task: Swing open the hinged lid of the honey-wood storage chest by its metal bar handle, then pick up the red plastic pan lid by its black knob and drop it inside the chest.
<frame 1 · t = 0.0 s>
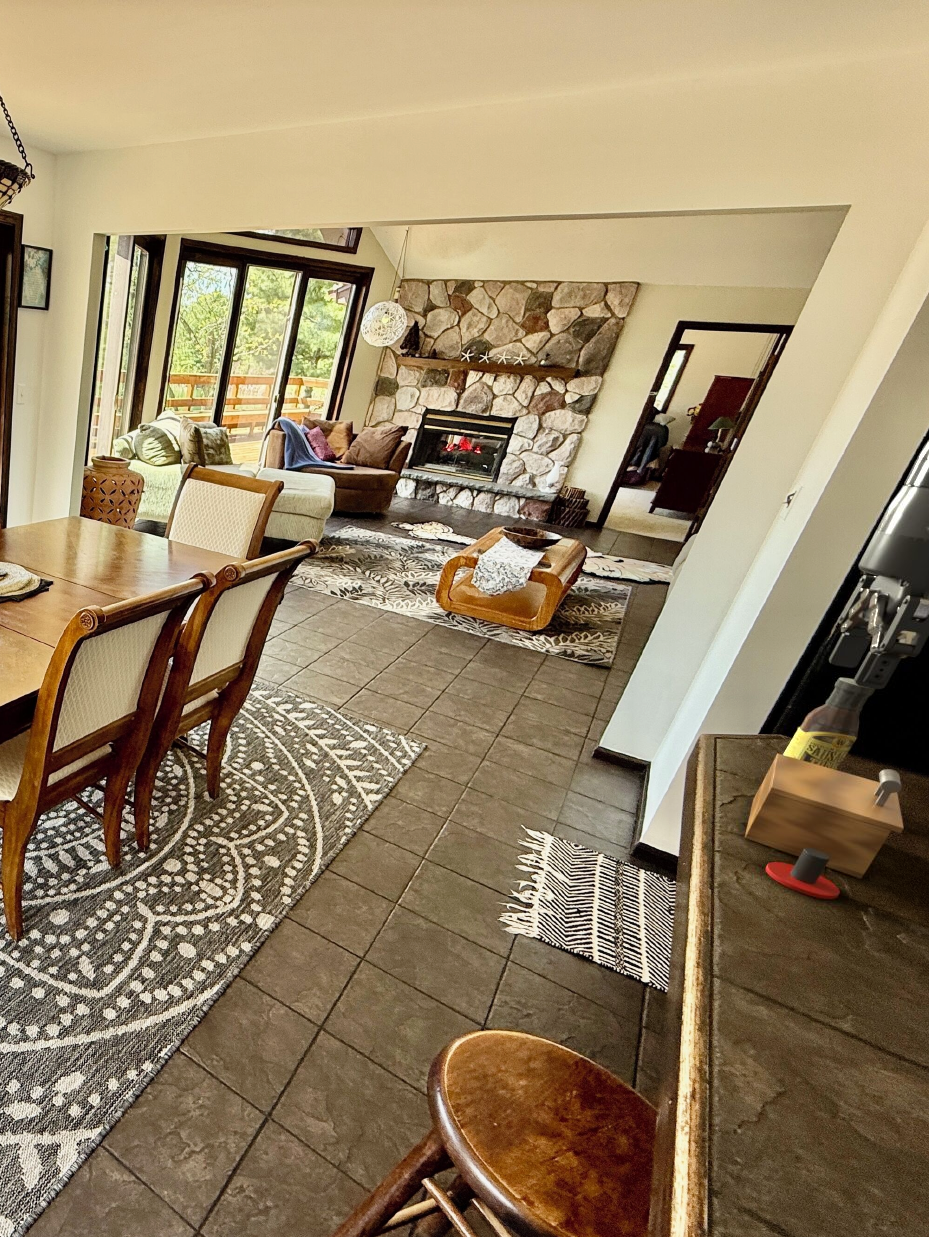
hand: (853, 675, 79), 30 cm above the countertop, tool pointing down, fingers open, 8 cm apart
chest lid: (840, 777, 98), point 10 cm above the countertop, hinge at 0.0°
pan lid: (800, 881, 92), on the countertop
sauce bottle: (793, 791, 116), on the countertop
chest: (802, 836, 102), on the countertop
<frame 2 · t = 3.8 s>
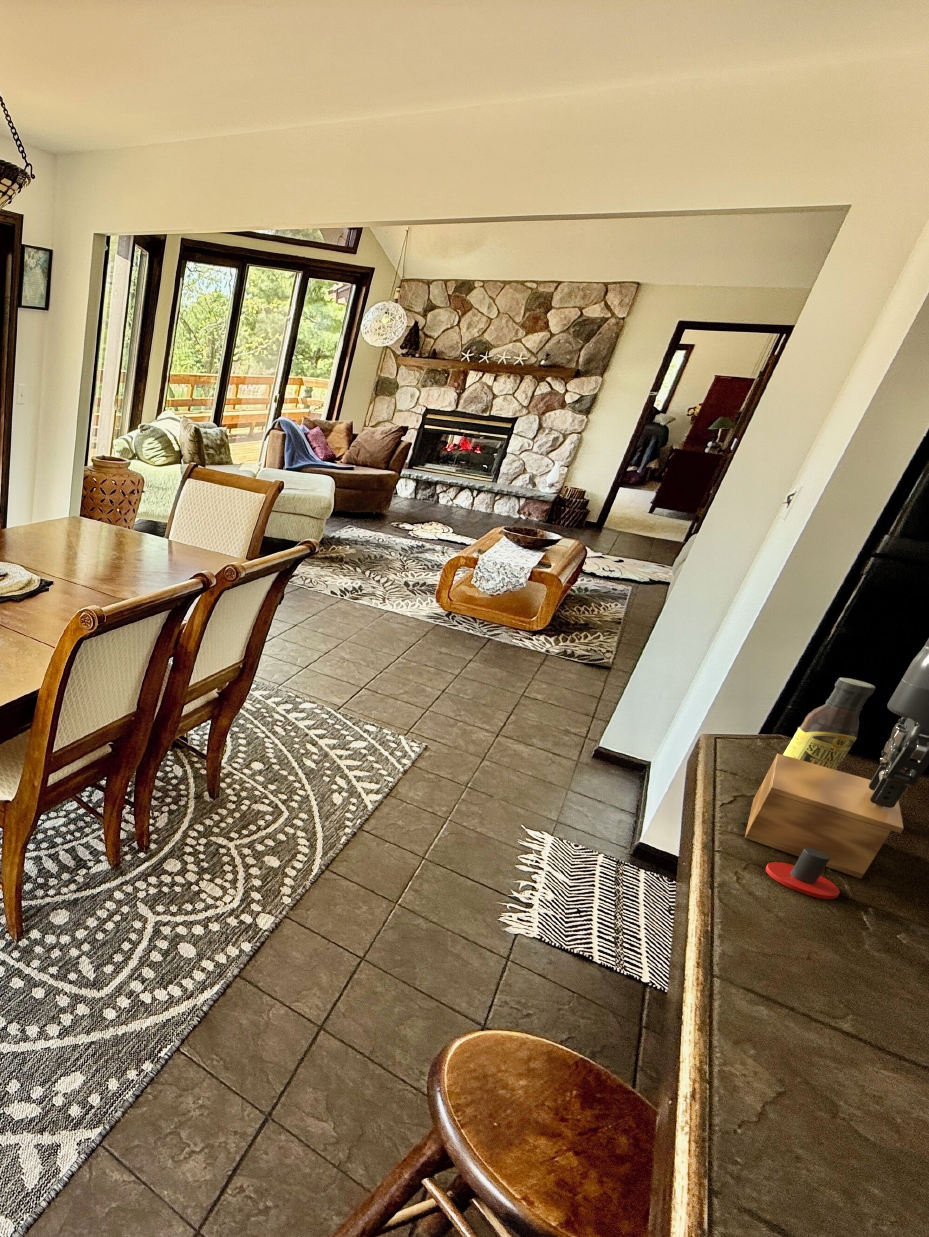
hand: (879, 797, 96), 9 cm above the countertop, tool pointing down, fingers closed on chest lid, 5 cm apart
chest lid: (840, 777, 98), point 10 cm above the countertop, hinge at 0.0°, touching gripper
everything else where it was.
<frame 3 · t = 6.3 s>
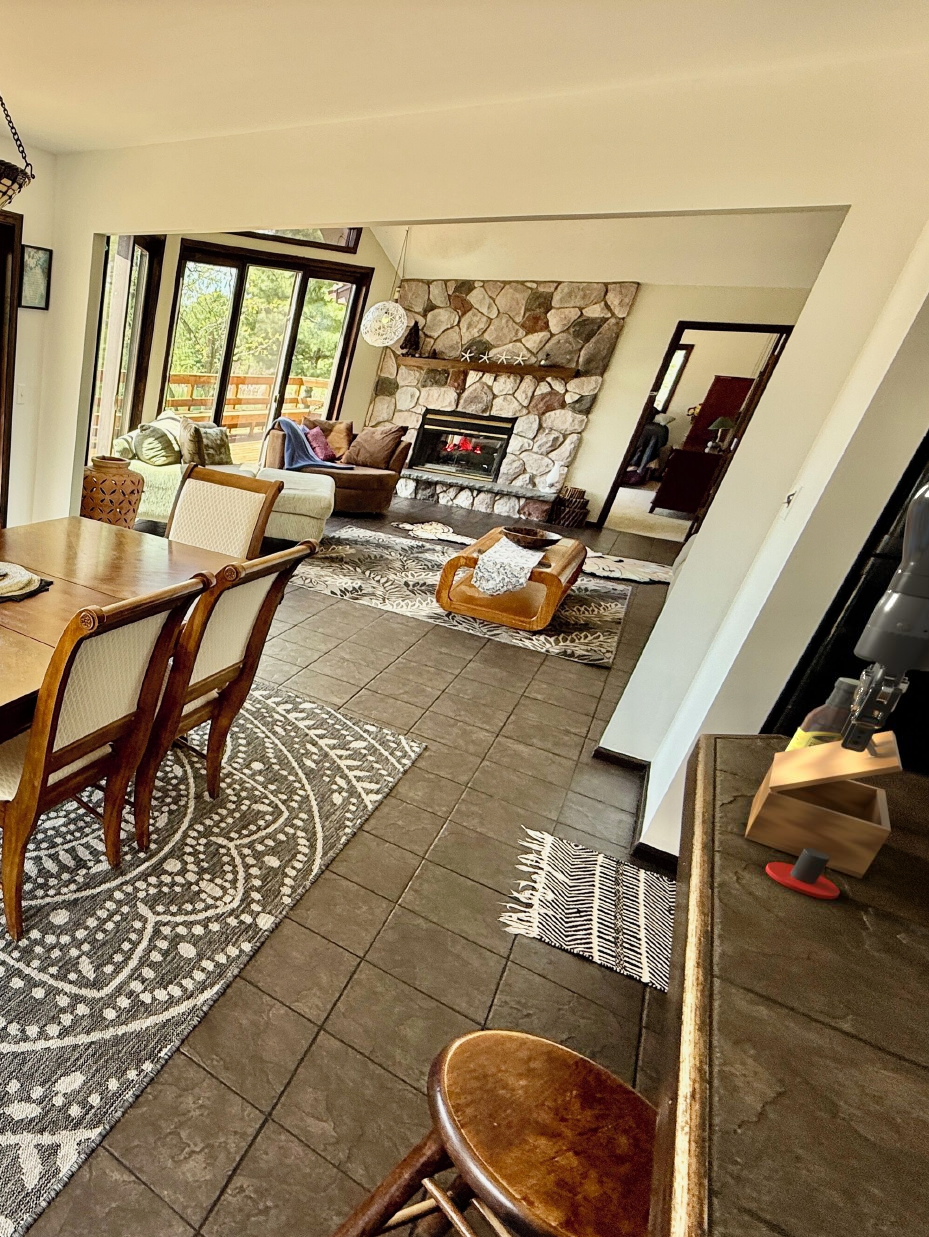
hand: (851, 743, 97), 15 cm above the countertop, tool pointing down, fingers closed on chest lid, 5 cm apart
chest lid: (824, 748, 99), point 14 cm above the countertop, hinge at 40.2°, touching gripper
everything else where it was.
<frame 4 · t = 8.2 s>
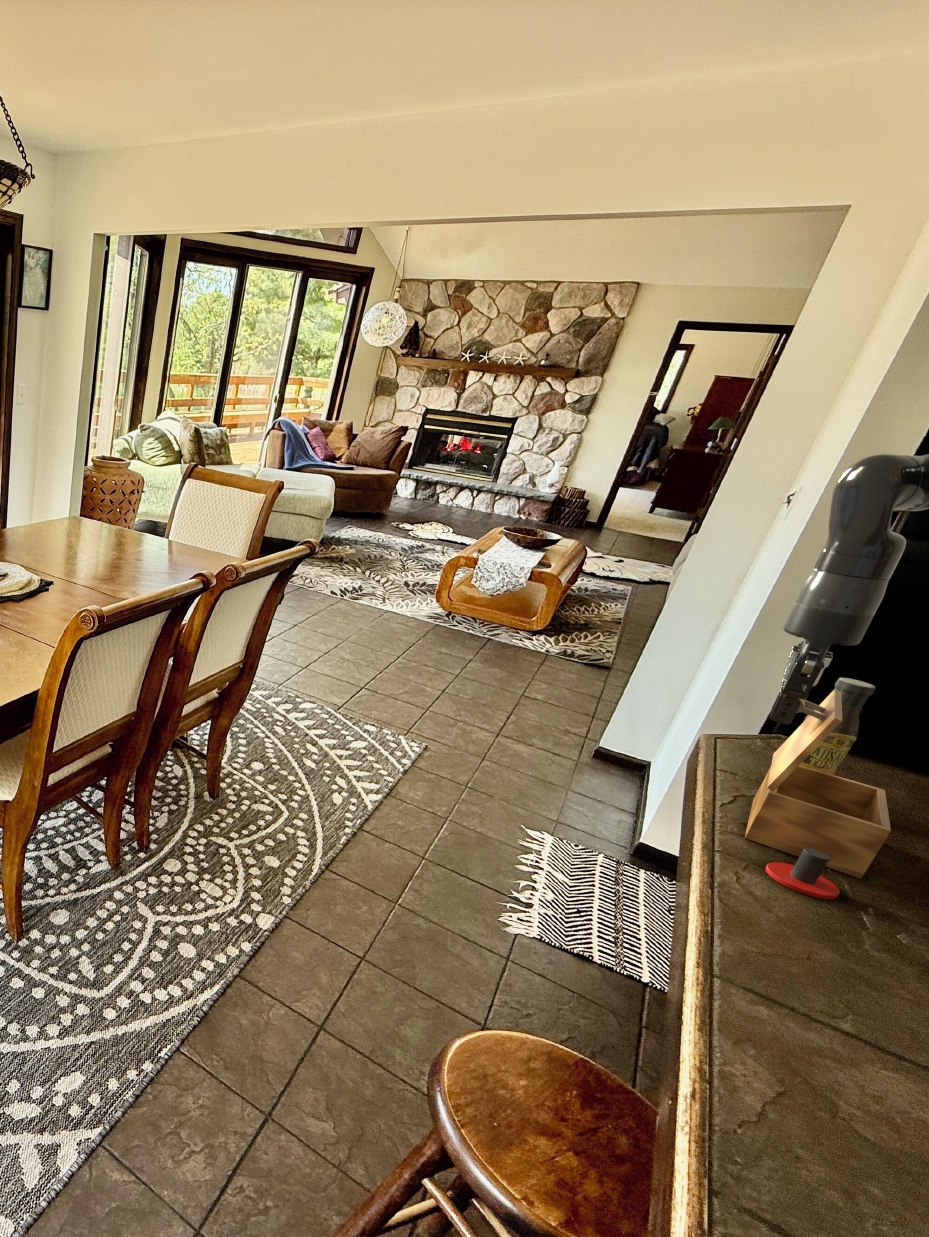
hand: (780, 716, 102), 17 cm above the countertop, tool pointing down, fingers closed on chest lid, 5 cm apart
chest lid: (787, 731, 101), point 15 cm above the countertop, hinge at 78.1°, touching gripper
everything else where it was.
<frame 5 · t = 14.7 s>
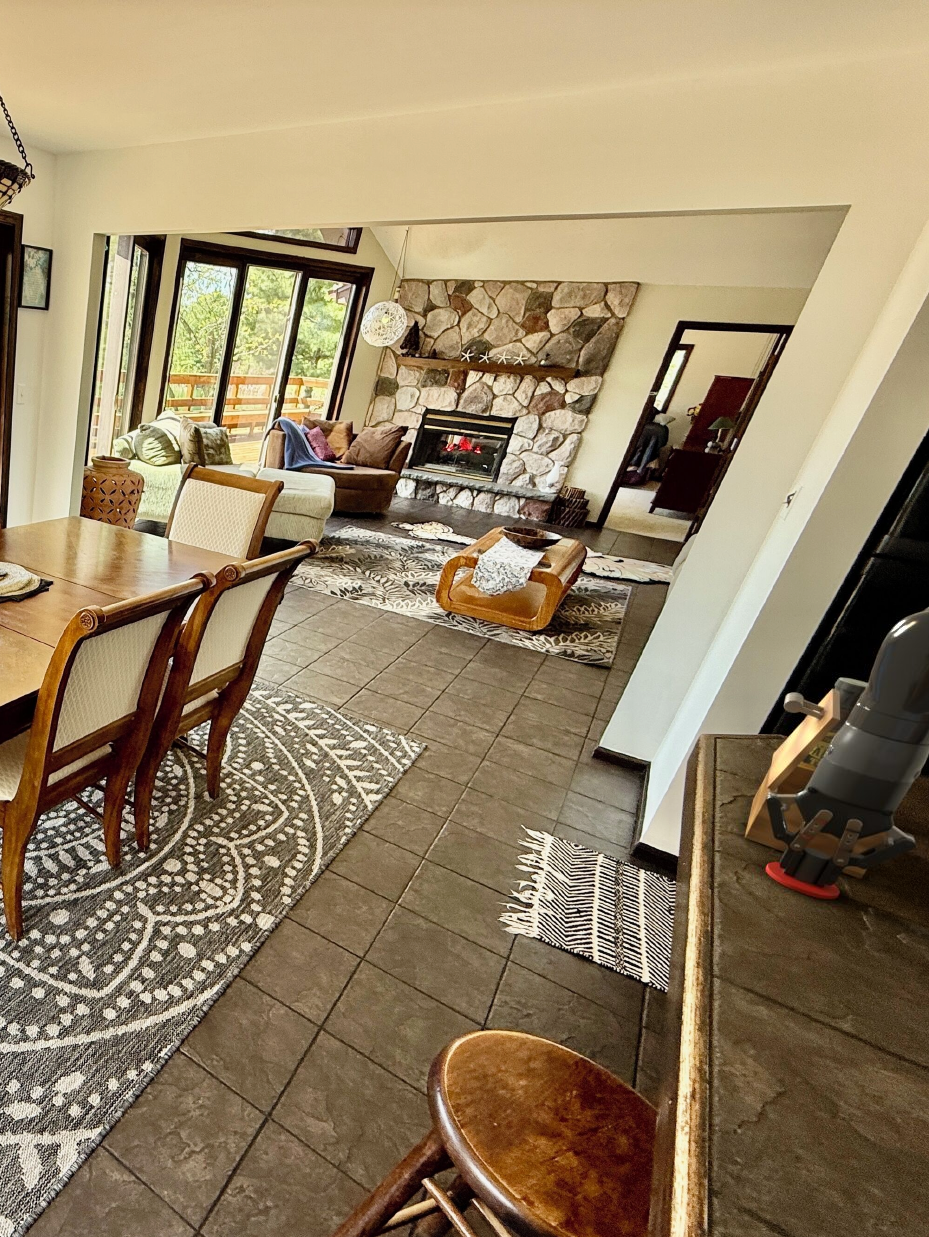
hand: (802, 877, 92), 1 cm above the countertop, tool pointing down, fingers closed on pan lid, 2 cm apart
chest lid: (786, 731, 101), point 15 cm above the countertop, hinge at 79.2°
pan lid: (800, 881, 92), on the countertop, touching gripper
everything else where it was.
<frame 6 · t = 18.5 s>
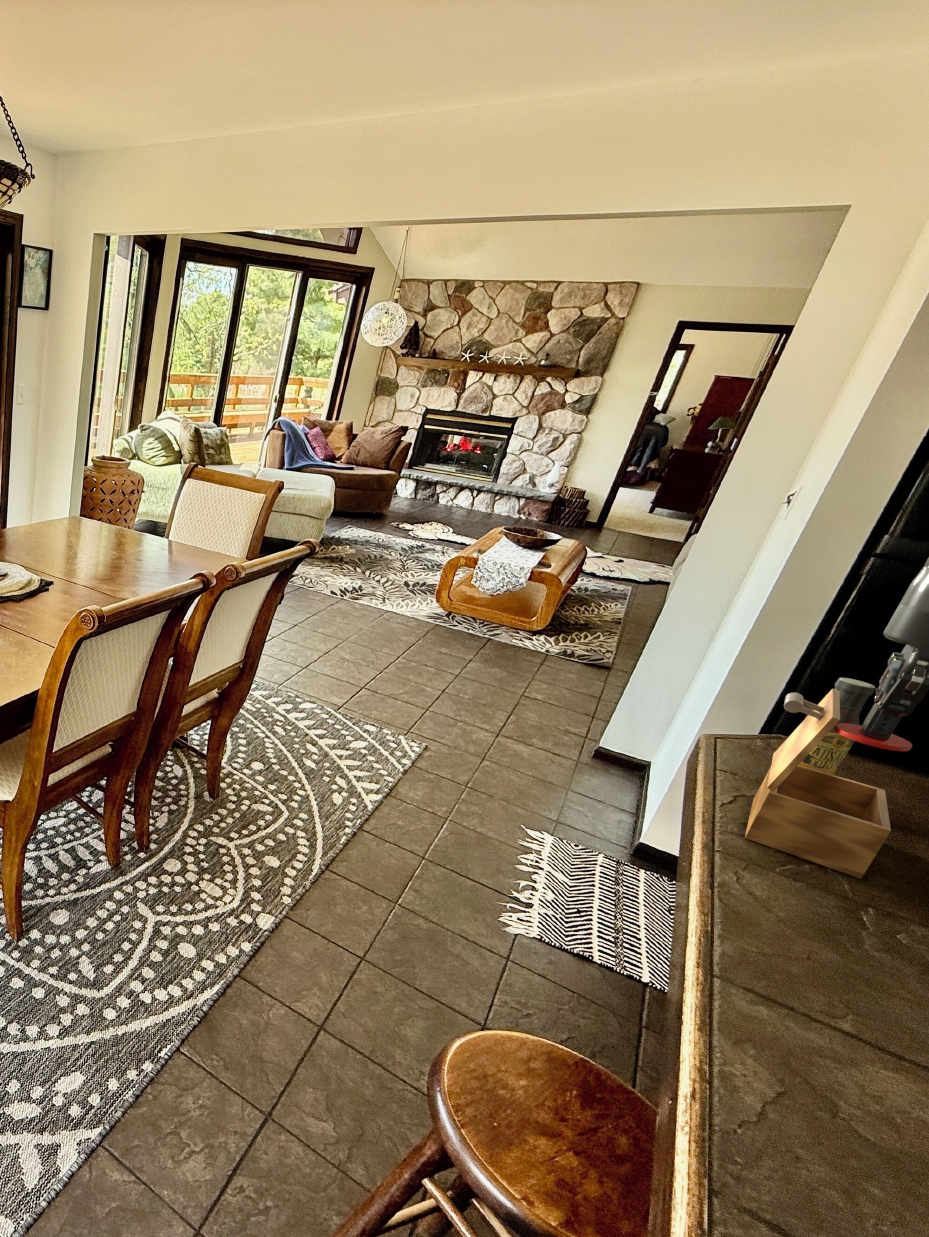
hand: (873, 734, 91), 19 cm above the countertop, tool pointing down, fingers closed on pan lid, 2 cm apart
pan lid: (870, 738, 91), point 19 cm above the countertop, touching gripper
everything else where it was.
when the fingers open (7 cm above the countertop, at t = 22.4 s): pan lid drops 6 cm, resting on chest.
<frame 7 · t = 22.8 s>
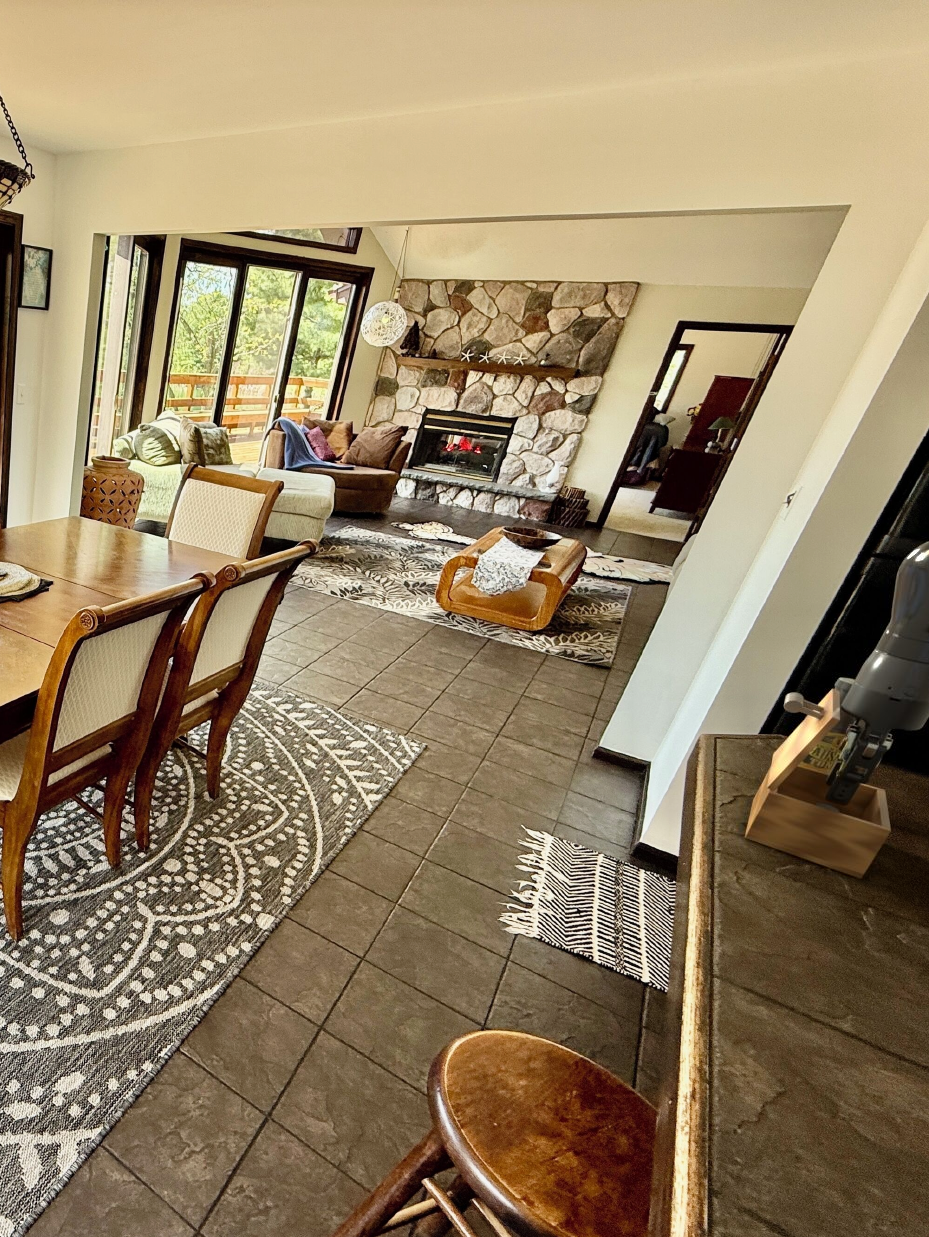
hand: (835, 794, 99), 8 cm above the countertop, tool pointing down, fingers open, 6 cm apart
pan lid: (812, 834, 102), point 1 cm above the countertop, touching chest
everything else where it was.
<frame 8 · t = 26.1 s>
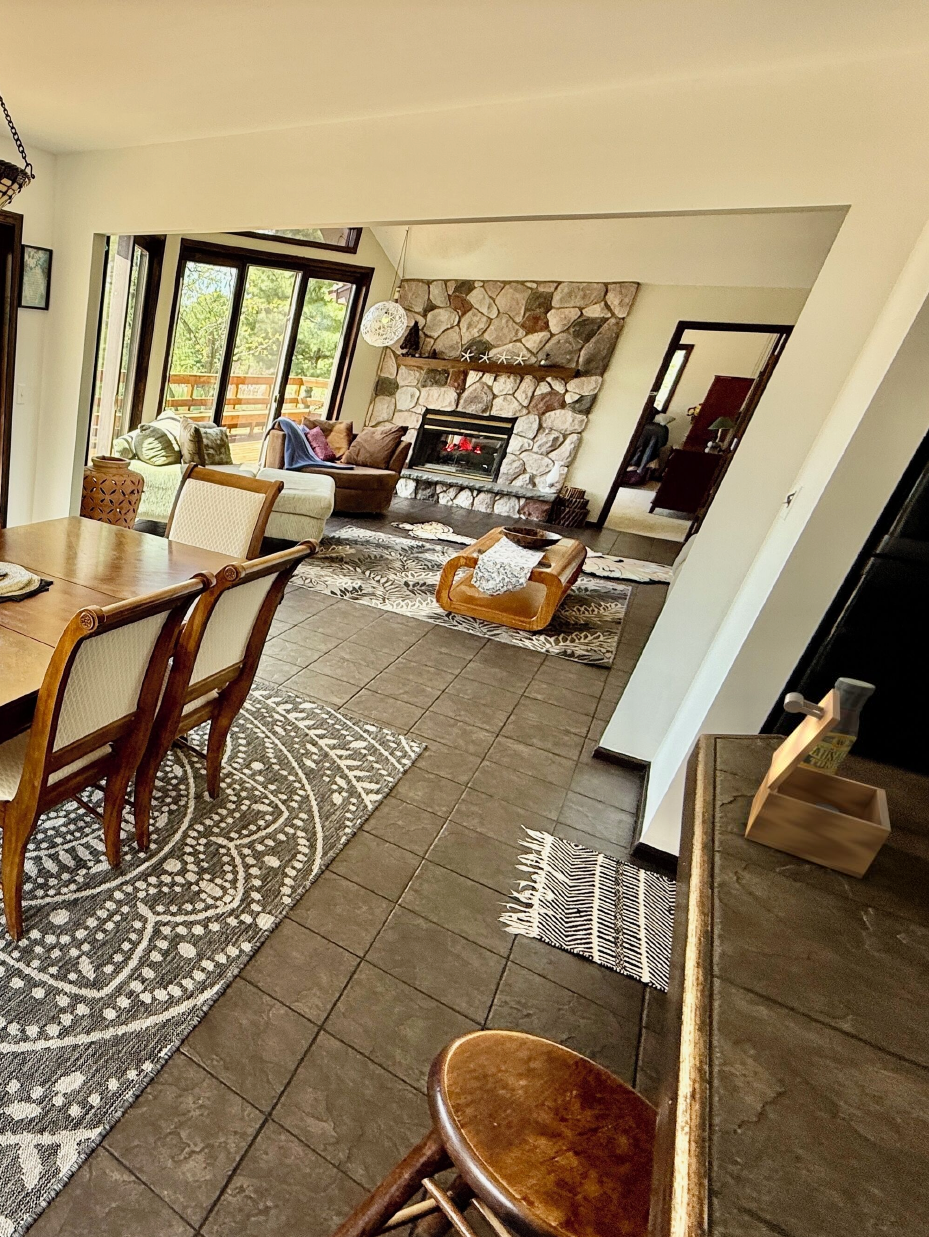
nothing on the countertop moved.
at the end: chest lid at +79° (first picture: +0°); pan lid inside the target area in the chest (0.8 cm from its centre), point 0.8 cm above the chest's base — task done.
